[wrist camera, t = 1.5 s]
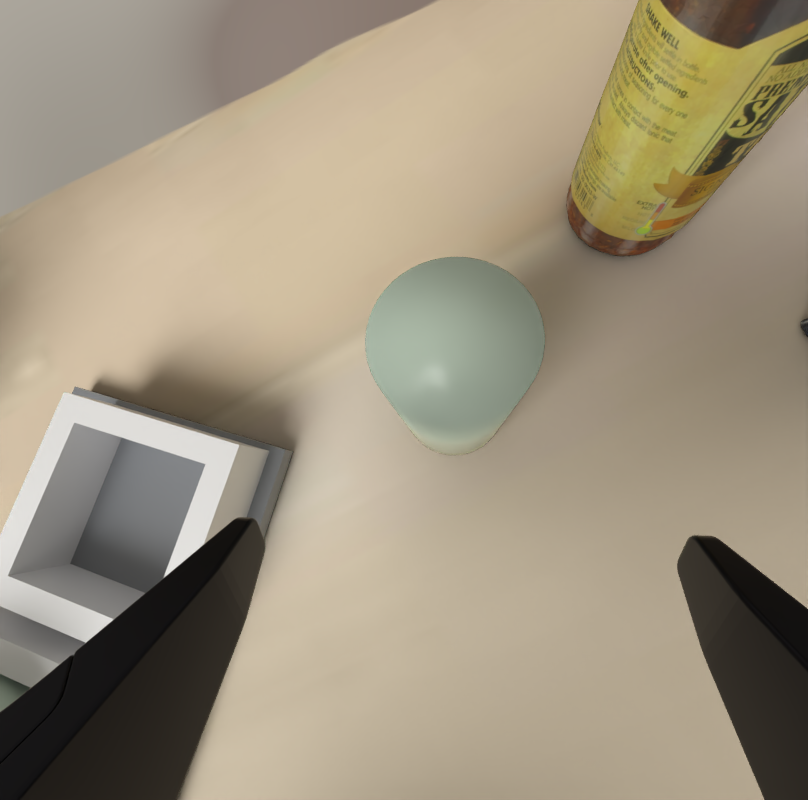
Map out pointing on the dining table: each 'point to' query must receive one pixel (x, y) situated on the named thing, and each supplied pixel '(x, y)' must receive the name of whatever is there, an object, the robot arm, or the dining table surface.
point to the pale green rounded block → (455, 350)
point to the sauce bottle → (683, 114)
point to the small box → (805, 326)
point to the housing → (114, 521)
